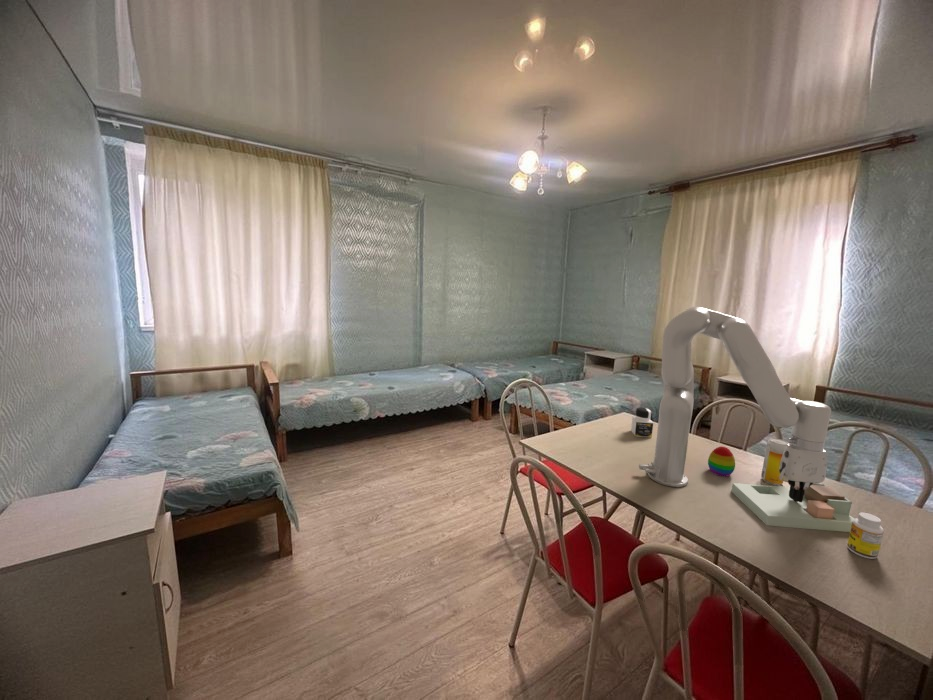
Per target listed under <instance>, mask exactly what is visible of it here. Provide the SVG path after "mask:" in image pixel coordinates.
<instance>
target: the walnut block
mask: <svg viewBox="0 0 933 700" xmlns="http://www.w3.org/2000/svg"><path fill="white" fill-rule="evenodd" d="M804 498H805V499H807V500H814V501H823V502H825V503H826V504H827V500H828V499H829V500H843V501H844V499H845V498H846V497H845V496H844V495H842V494H841V493H840V492H838V491H837V490H835V489H834V488H832V487H830V486H829V485H826V486H822V485H811V486H809V487H808V489H807V490H806V491H805V496H804Z"/></svg>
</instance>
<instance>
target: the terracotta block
mask: <svg viewBox="0 0 933 700" xmlns="http://www.w3.org/2000/svg"><path fill="white" fill-rule="evenodd" d="M806 512H807V513H809V514H810V515H811V516H812V517H814V518H821V519H832V518H833V513H834V509H833V508H832V507H831V506H829V505H828V504H826V503H825V502H823V501H814V500H808V503H807V508H806Z"/></svg>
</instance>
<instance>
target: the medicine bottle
mask: <svg viewBox="0 0 933 700" xmlns="http://www.w3.org/2000/svg"><path fill="white" fill-rule="evenodd" d="M651 414H652V411H651V410H650V409H649V408H648V407H647V408H646V407H637V408H636V410H635V416H634V415H633V416H632V418H631V427H630V431H631V432H632V434H633V435H634V437H638V438H639V437H641V438H649V439H650V438H652V436H653V430H654V422H653V420H651Z"/></svg>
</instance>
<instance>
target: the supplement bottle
mask: <svg viewBox="0 0 933 700" xmlns="http://www.w3.org/2000/svg"><path fill="white" fill-rule="evenodd" d="M854 518H855V517H854ZM881 524H882V519H880V518H879V517H878V516H876V515H874V514H871V513H869V512H868V513H867V512H859V513H858V515H857V517H856V518H855V519H854V520H853V522H852V526H851V531H850V532H849V536H848V540H847V548H848V549H849V551H851V552H852V553H853V554H855V555H857V556H859V557H861V558H864V559H871V560H873V559H877V558H878V556H879V552H880V548H881V544H882V540H883V536H884V532H885V530H884V528H883V527H882V526H881Z"/></svg>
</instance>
